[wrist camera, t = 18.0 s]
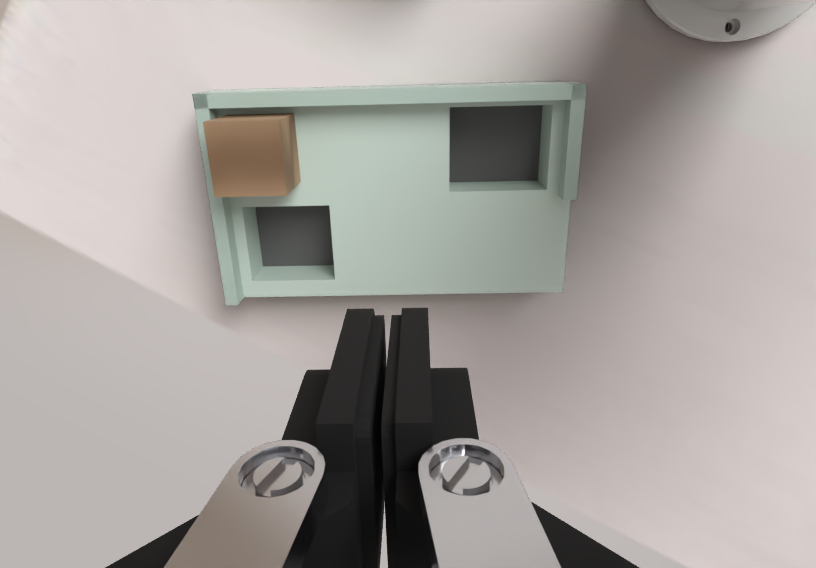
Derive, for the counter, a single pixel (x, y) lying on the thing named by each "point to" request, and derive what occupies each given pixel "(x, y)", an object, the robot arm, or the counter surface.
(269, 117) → the walnut block
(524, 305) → the counter surface
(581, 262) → the counter surface
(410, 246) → the tray
